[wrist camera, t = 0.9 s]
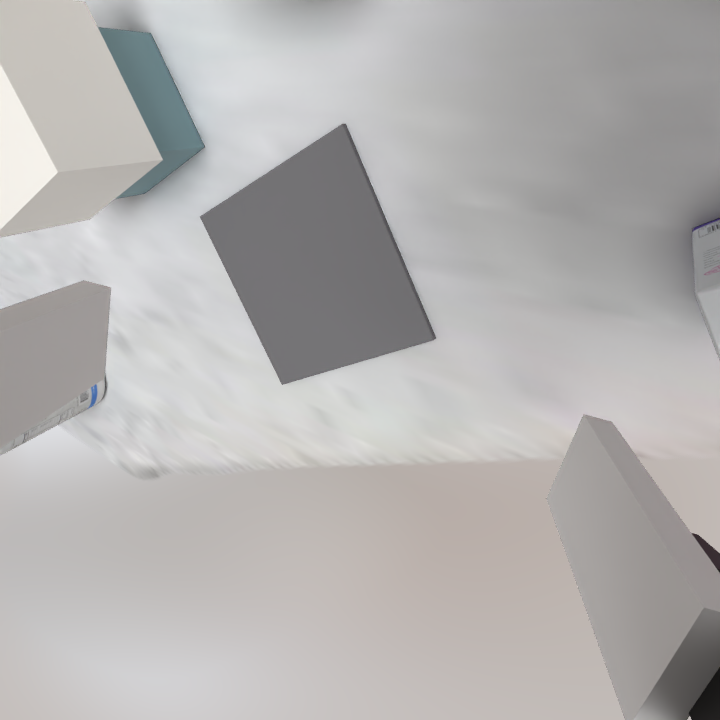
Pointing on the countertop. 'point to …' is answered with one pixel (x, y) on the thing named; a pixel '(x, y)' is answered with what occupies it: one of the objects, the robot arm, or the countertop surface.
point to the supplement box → (708, 276)
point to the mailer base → (153, 103)
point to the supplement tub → (60, 415)
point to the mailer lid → (63, 118)
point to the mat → (318, 263)
